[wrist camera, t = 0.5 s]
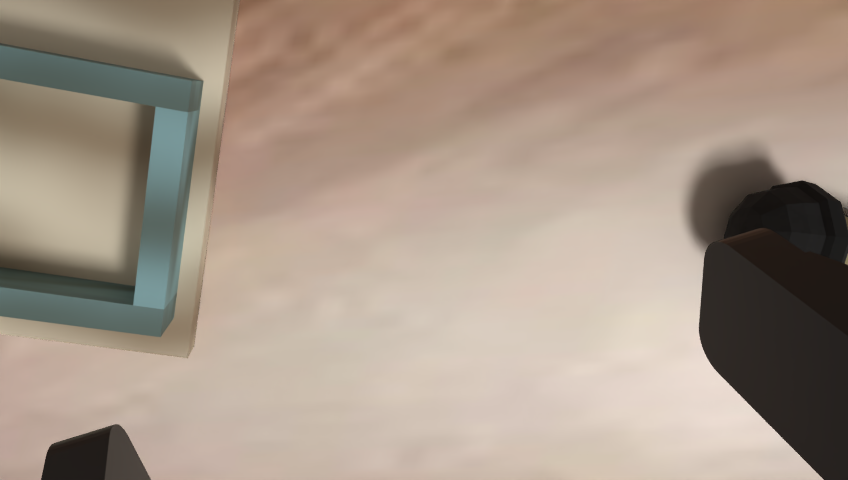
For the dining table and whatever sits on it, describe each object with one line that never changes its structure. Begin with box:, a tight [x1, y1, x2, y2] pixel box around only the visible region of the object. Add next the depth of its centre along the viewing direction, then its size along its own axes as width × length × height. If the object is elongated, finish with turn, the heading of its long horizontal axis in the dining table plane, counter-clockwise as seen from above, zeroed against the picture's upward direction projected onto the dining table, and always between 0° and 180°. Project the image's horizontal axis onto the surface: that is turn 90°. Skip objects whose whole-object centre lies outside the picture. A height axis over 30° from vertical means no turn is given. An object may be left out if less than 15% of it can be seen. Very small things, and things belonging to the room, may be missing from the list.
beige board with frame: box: [0, 0, 240, 358], centre depth 29 cm, size 20×12×4 cm, turn 169°
